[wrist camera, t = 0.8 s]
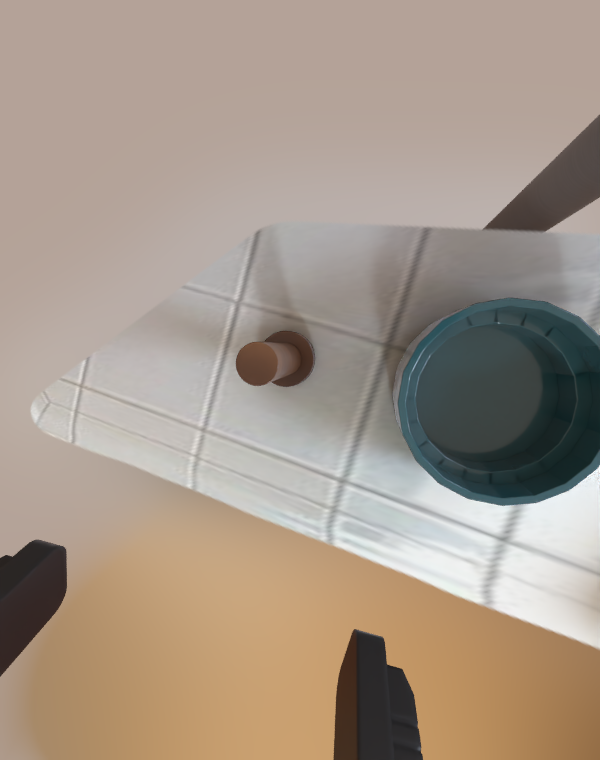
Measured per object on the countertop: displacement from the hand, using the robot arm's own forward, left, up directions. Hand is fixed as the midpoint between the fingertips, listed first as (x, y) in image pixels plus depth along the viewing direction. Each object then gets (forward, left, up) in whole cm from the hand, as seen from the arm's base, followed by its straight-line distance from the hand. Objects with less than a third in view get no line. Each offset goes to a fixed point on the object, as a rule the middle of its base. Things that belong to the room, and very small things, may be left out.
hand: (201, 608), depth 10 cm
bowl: (-9, +12, -26) cm, 30 cm away
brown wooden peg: (-4, -5, -26) cm, 27 cm away
